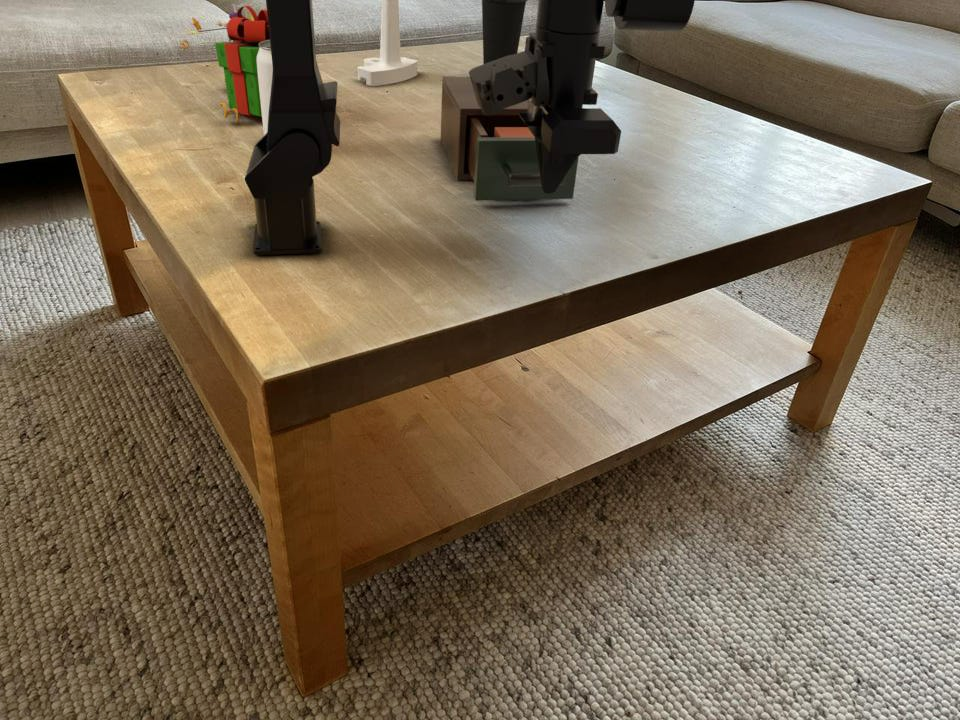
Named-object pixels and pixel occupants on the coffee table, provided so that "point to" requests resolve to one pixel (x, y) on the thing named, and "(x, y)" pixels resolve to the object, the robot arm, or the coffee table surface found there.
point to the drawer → (507, 162)
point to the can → (264, 79)
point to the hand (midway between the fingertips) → (548, 192)
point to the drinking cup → (501, 27)
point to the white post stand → (388, 52)
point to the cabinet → (462, 120)
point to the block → (512, 132)
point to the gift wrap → (241, 61)
